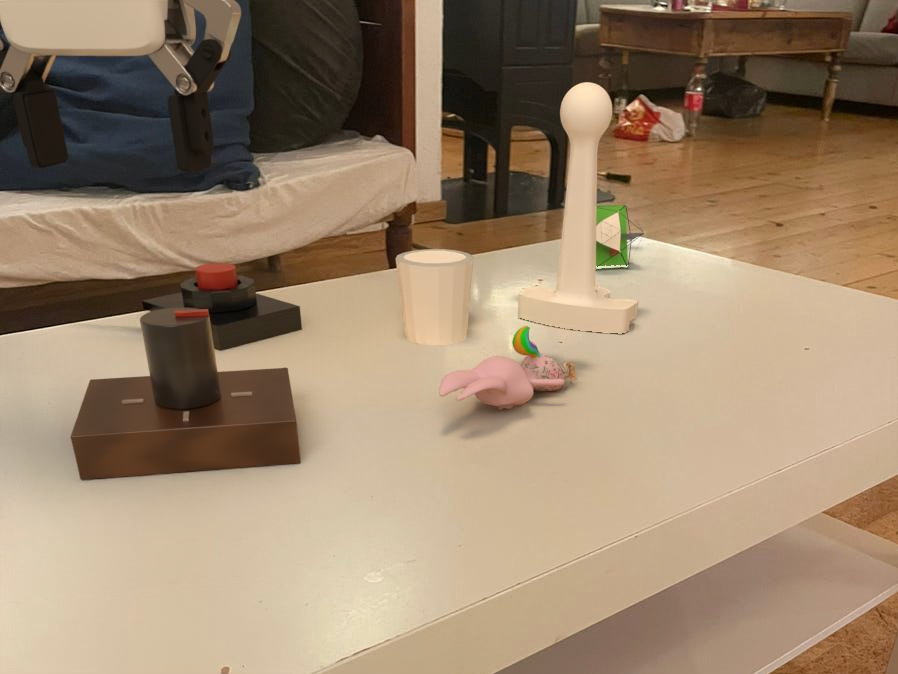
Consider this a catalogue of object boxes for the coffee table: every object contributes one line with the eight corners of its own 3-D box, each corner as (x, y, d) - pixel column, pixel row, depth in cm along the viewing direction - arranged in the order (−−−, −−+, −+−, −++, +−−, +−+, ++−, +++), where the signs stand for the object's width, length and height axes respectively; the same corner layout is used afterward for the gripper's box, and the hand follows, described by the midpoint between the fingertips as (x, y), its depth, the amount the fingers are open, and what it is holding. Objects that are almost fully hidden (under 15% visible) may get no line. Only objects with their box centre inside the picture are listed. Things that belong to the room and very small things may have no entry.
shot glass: (441, 352, 86) (440, 269, 82) (382, 338, 89) (379, 257, 86) (488, 334, 91) (489, 254, 87) (431, 321, 94) (429, 244, 90)
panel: (80, 480, 63) (69, 433, 62) (98, 419, 72) (89, 377, 71) (300, 463, 66) (296, 417, 64) (291, 406, 75) (287, 365, 73)
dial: (152, 411, 65) (136, 322, 62) (156, 389, 69) (141, 304, 66) (220, 406, 66) (208, 319, 63) (221, 385, 70) (209, 301, 66)
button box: (145, 324, 93) (138, 280, 90) (226, 306, 98) (220, 264, 96) (220, 351, 86) (214, 304, 84) (302, 330, 91) (298, 285, 89)
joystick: (511, 320, 95) (517, 81, 84) (545, 302, 100) (554, 75, 89) (619, 337, 90) (640, 87, 79) (648, 317, 96) (672, 81, 85)
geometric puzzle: (566, 238, 116) (582, 186, 108) (622, 236, 117) (641, 184, 109) (578, 288, 113) (595, 238, 106) (635, 285, 114) (655, 236, 107)
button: (190, 287, 90) (186, 267, 89) (223, 280, 92) (220, 261, 91) (212, 294, 88) (210, 274, 87) (246, 287, 90) (243, 267, 89)
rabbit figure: (524, 389, 82) (412, 411, 71) (533, 314, 80) (418, 325, 68) (589, 405, 79) (483, 431, 68) (601, 328, 77) (492, 342, 65)
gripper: (242, -195, 52) (279, 162, 61) (-46, -183, 55) (30, 155, 65) (176, -221, 46) (228, 181, 55) (-144, -206, 49) (-44, 172, 58)
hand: (122, 167), depth 60 cm, fingers open, 9 cm apart
